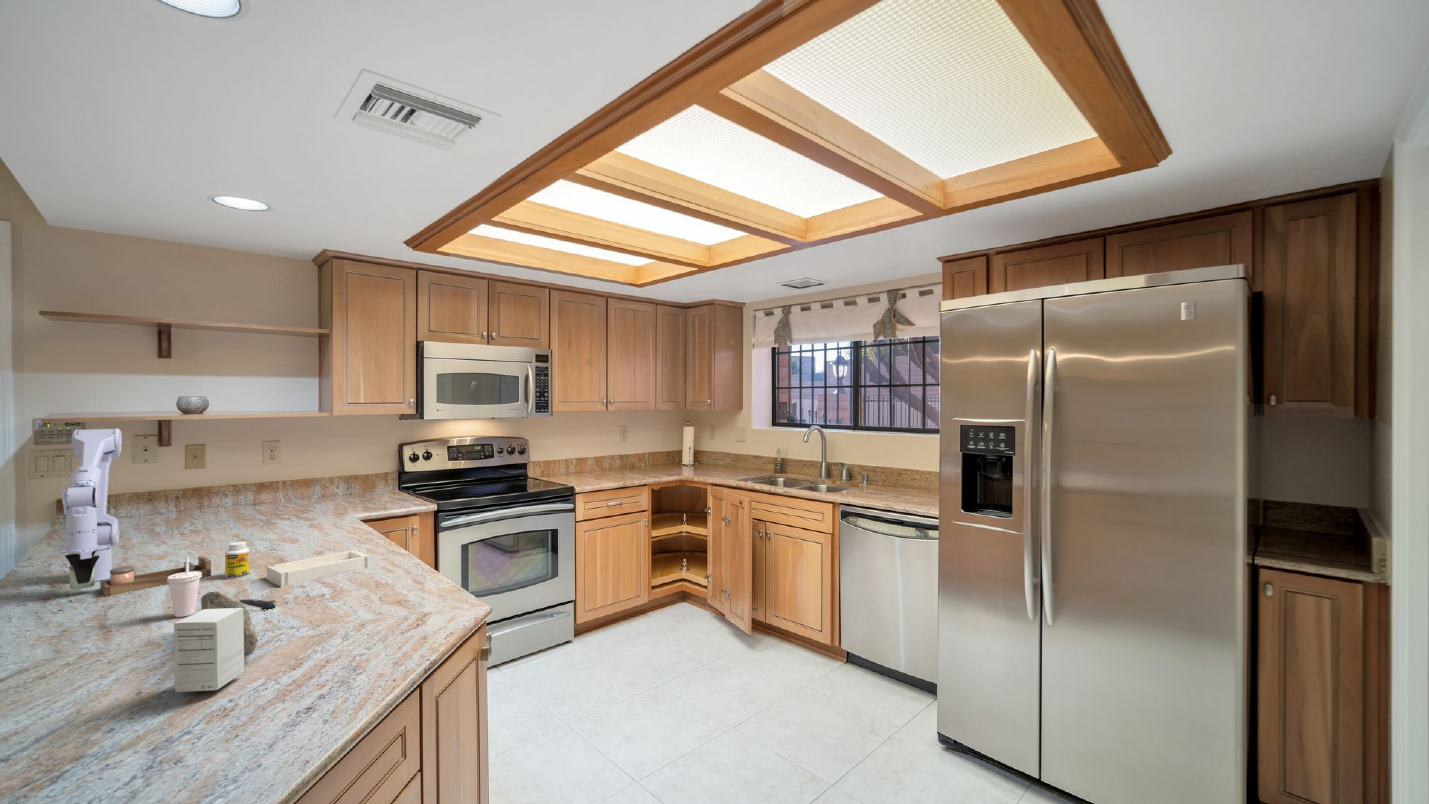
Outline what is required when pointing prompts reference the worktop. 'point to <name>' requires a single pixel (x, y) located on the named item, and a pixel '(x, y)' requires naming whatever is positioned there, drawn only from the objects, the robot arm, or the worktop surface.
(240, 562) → the supplement bottle
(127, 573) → the jar stock
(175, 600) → the smoothie
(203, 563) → the lane
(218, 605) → the elongated rock
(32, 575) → the worktop surface
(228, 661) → the supplement box
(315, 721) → the worktop surface
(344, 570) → the utensil tray
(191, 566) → the pusher
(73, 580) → the jar
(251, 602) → the dark grey elongated piece
